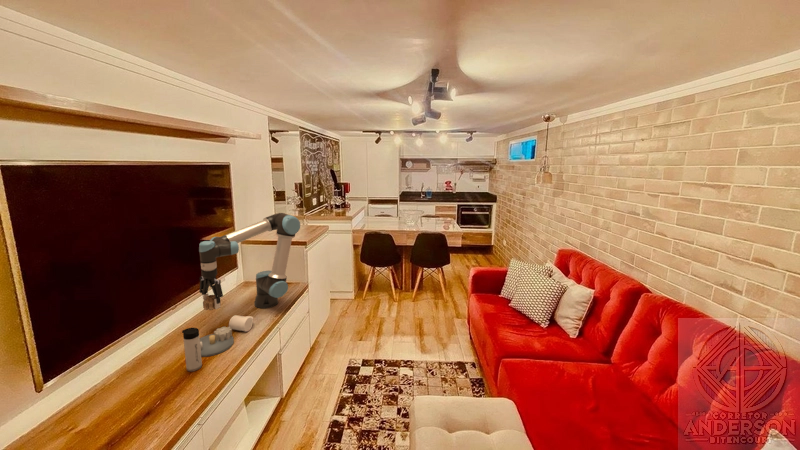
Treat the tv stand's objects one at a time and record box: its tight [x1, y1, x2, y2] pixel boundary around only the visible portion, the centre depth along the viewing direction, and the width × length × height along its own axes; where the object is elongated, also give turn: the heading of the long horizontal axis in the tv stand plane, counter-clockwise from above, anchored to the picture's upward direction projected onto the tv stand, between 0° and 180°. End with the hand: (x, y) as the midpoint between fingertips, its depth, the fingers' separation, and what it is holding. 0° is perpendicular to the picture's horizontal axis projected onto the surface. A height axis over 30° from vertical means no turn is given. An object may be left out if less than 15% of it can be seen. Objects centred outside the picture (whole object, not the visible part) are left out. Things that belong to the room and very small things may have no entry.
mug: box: [228, 314, 254, 333], centre depth 190 cm, size 12×10×8 cm
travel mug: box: [181, 327, 203, 372], centre depth 152 cm, size 6×7×20 cm
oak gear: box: [202, 294, 222, 311], centre depth 182 cm, size 8×8×6 cm
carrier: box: [200, 326, 235, 358], centre depth 172 cm, size 21×20×6 cm
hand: (212, 306), depth 183 cm, fingers closed on oak gear, 8 cm apart
